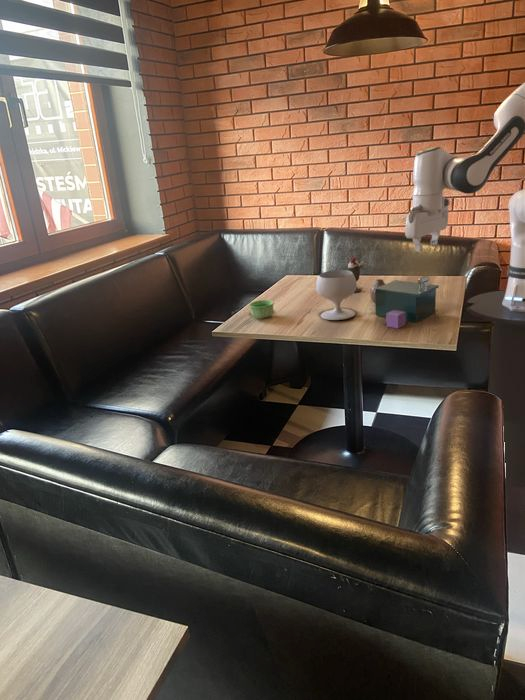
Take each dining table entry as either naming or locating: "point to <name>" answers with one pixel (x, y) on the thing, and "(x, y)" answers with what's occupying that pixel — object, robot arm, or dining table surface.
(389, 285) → the compartment lid
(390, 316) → the purple cube
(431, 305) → the compartment
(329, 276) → the chalice
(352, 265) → the sundae
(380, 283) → the vase
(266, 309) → the ramekin
